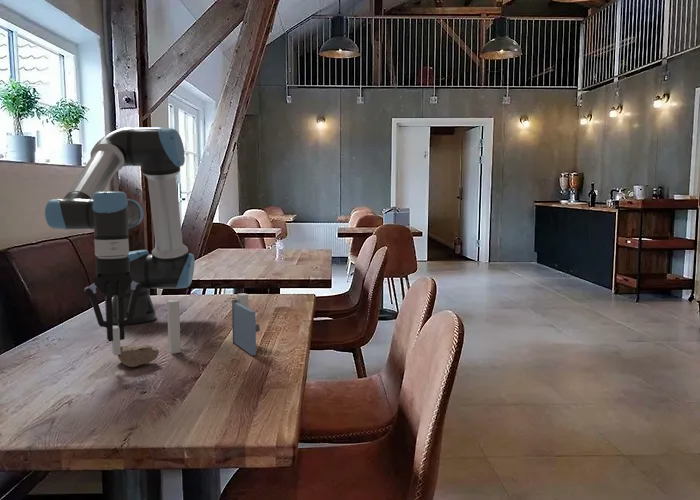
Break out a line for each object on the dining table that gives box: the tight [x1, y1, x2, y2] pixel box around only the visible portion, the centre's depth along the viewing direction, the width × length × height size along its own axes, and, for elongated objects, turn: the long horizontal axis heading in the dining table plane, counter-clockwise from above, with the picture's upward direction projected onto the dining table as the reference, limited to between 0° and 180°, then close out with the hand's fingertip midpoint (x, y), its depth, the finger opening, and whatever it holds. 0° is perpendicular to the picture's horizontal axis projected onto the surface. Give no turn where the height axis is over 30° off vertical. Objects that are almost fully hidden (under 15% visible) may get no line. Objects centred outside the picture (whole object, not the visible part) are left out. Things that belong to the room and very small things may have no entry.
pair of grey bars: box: [166, 292, 250, 355], centre depth 161 cm, size 3×22×14 cm, turn 120°
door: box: [231, 298, 261, 356], centre depth 158 cm, size 3×16×13 cm, turn 29°
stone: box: [116, 344, 160, 368], centre depth 145 cm, size 9×11×5 cm
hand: (116, 353), depth 139 cm, fingers closed
